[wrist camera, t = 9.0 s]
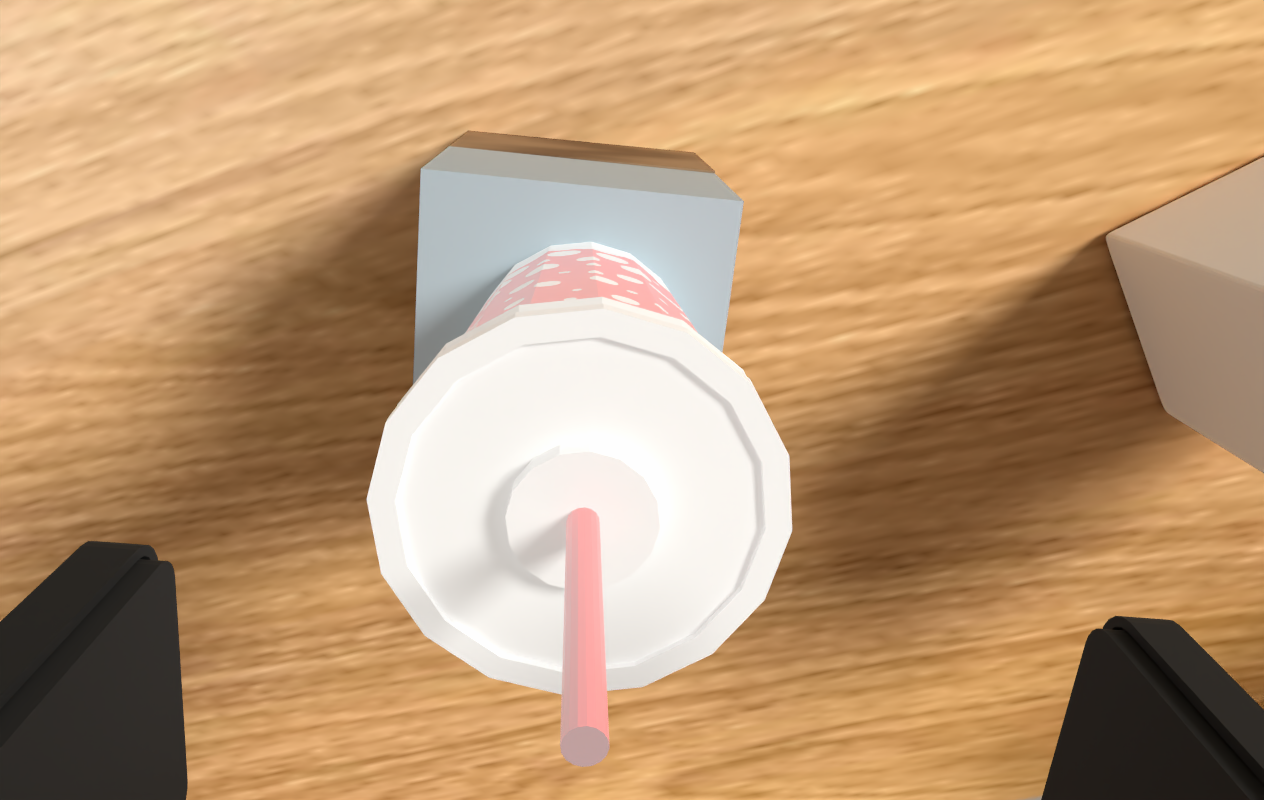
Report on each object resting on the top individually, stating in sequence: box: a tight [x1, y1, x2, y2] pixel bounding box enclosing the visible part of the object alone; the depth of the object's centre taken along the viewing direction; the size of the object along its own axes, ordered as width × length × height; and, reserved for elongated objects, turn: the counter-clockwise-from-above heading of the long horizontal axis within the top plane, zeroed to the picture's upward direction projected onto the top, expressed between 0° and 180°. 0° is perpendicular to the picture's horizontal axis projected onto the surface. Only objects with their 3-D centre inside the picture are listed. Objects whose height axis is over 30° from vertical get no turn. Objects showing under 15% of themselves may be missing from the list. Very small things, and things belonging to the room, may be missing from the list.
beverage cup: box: [367, 242, 792, 767], centre depth 16 cm, size 6×6×14 cm
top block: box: [413, 146, 744, 384], centre depth 25 cm, size 7×7×5 cm
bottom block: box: [450, 131, 715, 173], centre depth 30 cm, size 7×7×5 cm
